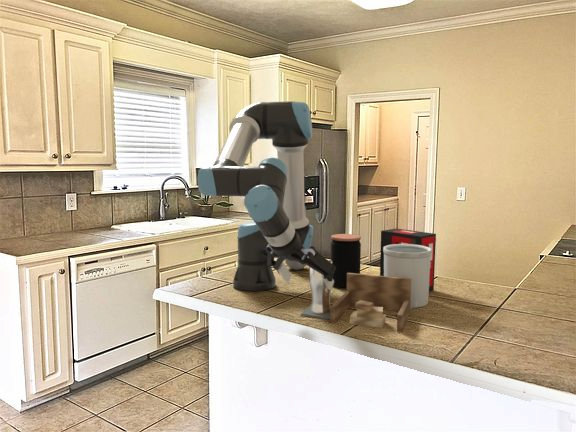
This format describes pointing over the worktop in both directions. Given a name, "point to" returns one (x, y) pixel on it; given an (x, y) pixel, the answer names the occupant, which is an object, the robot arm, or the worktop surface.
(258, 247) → the robot arm
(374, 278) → the open wooden frame
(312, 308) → the beer glass
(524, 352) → the worktop surface
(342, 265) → the coffee jar
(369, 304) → the offcut stack
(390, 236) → the cleaning product box
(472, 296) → the worktop surface
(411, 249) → the utensil holder
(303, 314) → the coaster
